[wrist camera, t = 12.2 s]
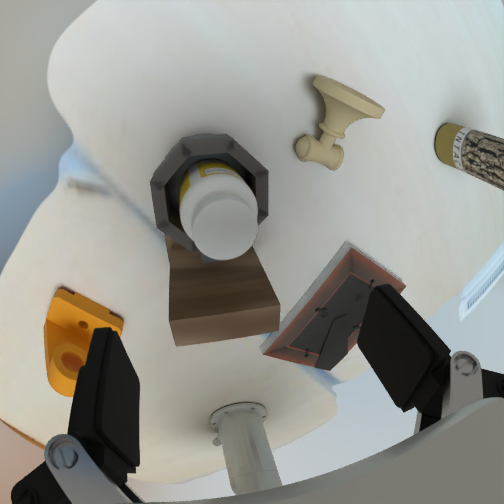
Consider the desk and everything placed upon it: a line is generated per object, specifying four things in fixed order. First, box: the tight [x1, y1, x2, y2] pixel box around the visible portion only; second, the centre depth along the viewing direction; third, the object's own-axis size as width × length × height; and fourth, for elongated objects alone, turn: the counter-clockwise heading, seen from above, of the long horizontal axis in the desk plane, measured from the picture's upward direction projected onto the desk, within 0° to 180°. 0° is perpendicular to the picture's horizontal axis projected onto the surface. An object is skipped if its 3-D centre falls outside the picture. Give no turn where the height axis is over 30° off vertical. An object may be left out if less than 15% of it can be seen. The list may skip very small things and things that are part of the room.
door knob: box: [296, 74, 385, 170], centre depth 29 cm, size 10×8×8 cm
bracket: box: [44, 289, 123, 397], centre depth 31 cm, size 11×7×12 cm, turn 51°
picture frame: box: [260, 242, 406, 371], centre depth 45 cm, size 16×2×22 cm
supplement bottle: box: [180, 158, 258, 260], centre depth 21 cm, size 5×5×10 cm
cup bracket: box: [150, 134, 280, 346], centre depth 26 cm, size 17×10×14 cm, turn 1°
